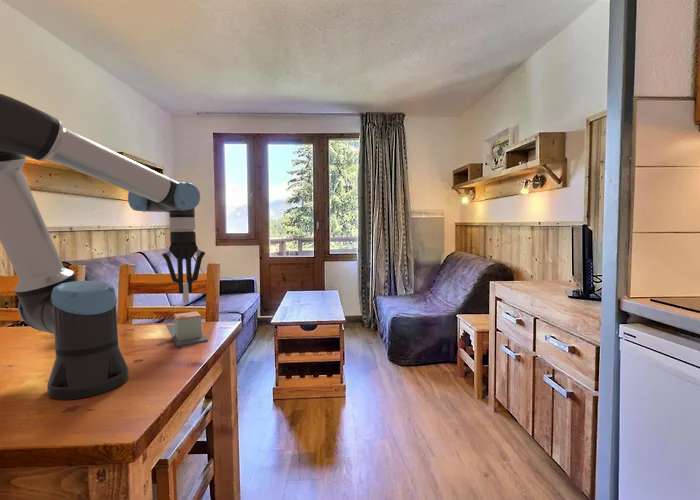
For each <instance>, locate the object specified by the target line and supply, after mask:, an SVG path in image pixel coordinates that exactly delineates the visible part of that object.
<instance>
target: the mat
mask: <svg viewBox="0 0 700 500" xmlns="http://www.w3.org/2000/svg"><path fill="white" fill-rule="evenodd" d="M173 324H175V322H174V323H173ZM165 326H166V328H167V329H168V332H169V334H170V336H171V337H172V339H173V341H174V343H175V345H176V347H177V348H178V347H182V346H183V347H184V346H188V345H189V346H190V345H194V344H200V343H201V344H202V343H205V342H209V338H207V337H206V335H205V334H204V333H203V332H202V337H197V338H191V339H185V340H179V341H178V339H177V337H176V336H175V325H166V324H165Z"/></svg>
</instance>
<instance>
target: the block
mask: <svg viewBox="0 0 700 500" xmlns="http://www.w3.org/2000/svg"><path fill="white" fill-rule="evenodd" d="M173 319H174V320H173V321H174V323H175V336H176V337H177V339H178V341H179V340H185V339H191V338H197V337H202V333H203V332H202V329H203V327H202V315H201V314H200V313H199V312H198V311H190V312H182V313H174V314H173Z"/></svg>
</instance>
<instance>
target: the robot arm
mask: <svg viewBox="0 0 700 500" xmlns="http://www.w3.org/2000/svg"><path fill="white" fill-rule="evenodd" d="M26 157H29V158H31V159H34V160H37V161H45V160H50V161H53V162H55V163H56V164H59V165H62V166H65V167H68V168H70V169H72V170H74V171H77V172H80V173H82V174H85V175H87V176H88V177H89V176H90V177H92V178H95V179H97V180H100V181H102V182H104V183H107V184H110V185H112V186H114V187H117V188H118V189H122V190H125V191H126V192H128V194H127V203H128V205H129V207H130V208H131V209H132V210H133V211H136V212H143V213H145V212H150V213H151V212H152V213H153V212H155V213H157V212H158V213H163V212H164V213H168V215H169V229H170V231H171V232H170V233H169V235H170V237H169V238H170V246H169V248H168V250H167V251H165V252H162V254H161V257H163V259H164V260H165V262H166V265H167V269H168V272H169V275H170V279H171V281H172V282H173V283H177V284H178V292H179V294H181V295H182V303H183V304H185V305H186V304H189V303H190V299H189V298H190V297H189V296H190V294H189V293H192V292H193V285H192V283H193V282H195V281H197V280H198V278H199V274H200V269H201V265H202V261H203V260H202V259H203V258H204V256H205V254H206V252H205V251H202V250H200V249H199V248H198V246H197V239H196V237H197V236H196V235H197V234H196V231H195V230H196V213H195V212H196V211H195V210H196V209H195V208H196V207H197V206H198V205H199V203H200V200H201V194H200V190H199V189H198V186H196V184H194V183H191V182H186V181H179V182H178V181H177V180H174V179H172V178H170V177H168V176H166V175H165V174H161V173H159V172H157V171H155V170H154V169H151V168H149V167H147V166H145V165H143V164H141V163H138V162H137V161H134V160H133V159H130V158H128V157H127V156H124V155H122V154H120V153H118V152H115V151H114V150H111V148H108V147H105V146H103V145H101V144H100V143H98V142H95V141H93V140H92V139H89V138H86V137H85V136H83V135H81V134H79V133H76V132H74V131H73V130H70V129H68V128H67V127H64V126H63V123H62V122H61V120H60V119H59V118H57V117H55V116H52V115H50V114H48V113H46V112H44V111H42V110H40V109H38V108H37V107H34V106H32V105H30V104H27V103H26V102H23V101H21V100H18V99H17V98H13V97H12V96H9V95H7V94H6V95H5V94H2V93H0V243H1V245H2V247H3V250H4V252H5V254H6V256H7V258H8V260H9V262H10V264H11V266H12V268H13V271H14V272H15V274H16V276H17V279H18V282H17V284H16V285H15V287H14V289H13V290H14V292H15V294H16V296H17V298H18V300H19V301H18V304H17V306H18V307H17V310H18V314H19V316H20V318H21V319H22V321H23V322H24V323H25V324H27V325H28V326H29V327H31V328H32V329H34V330H37V331H39V332H44V333H49V334H52V335H54V347H55V360H54V363H53V366H52V369H51V372H50V375H49V378H48V381H47V386H46V387H47V396H48V397H49V398H50V399H51V398H52V399H54V400H76V399H82V398H83V399H84V398H88V397H93V396H95V395H100V394H103V393H107V392H109V391H111V390H114V389H116V388H118V387H120V386H122V385H124V384H125V383H126V382H127V381H128V380H129V378H130V374H129V373H130V371H129V366H128V365H127V361H126V360H125V358H124V356H123V353H122V351H121V349H120V346H119V332H118V314H117V312H118V311H117V303H118V300H117V296H116V290H115V287H114V286H113V285H112V284H110V283H108V282H105V281H99V280H95V281H93V280H78V278H77V276H76V274H75V273H76V272H75V271H74V270H71V269H70V268H69V269H68V268H67V267H65V266H64V265H63V262H62V260H61V258H60V255H59V253H58V251H57V249H56V245H55V243H54V242H53V239H52V237H51V235H50V233H49V230H48V227H47V225H46V223H45V221H44V219H43V216H42V214H41V212H40V209H39V206H38V205H37V202H36V200H35V198H34V196H33V193H32V190H31V188H30V186H29V184H28V182H27V179H26V177H25V175H24V172H23V167H24V166H25V165H26V163H27V158H26ZM172 255H173V257H174V258H175V259H176V262H177V264H176V265H177V275H176V272H175V270H174V269H175V268H174V265H173V263H172V260H171V257H172ZM195 255H196V259H195V263H194V269H193V271H192V258H193V257H194V256H195ZM183 260H185V271H186V272H185V273H186V274H185V275H186V282H184V271H183V270H184V269H183V267H184V266H183V262H184V261H183Z"/></svg>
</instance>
